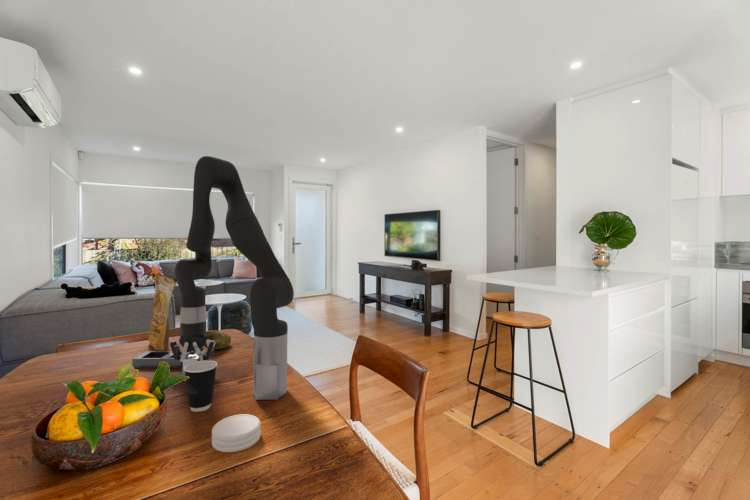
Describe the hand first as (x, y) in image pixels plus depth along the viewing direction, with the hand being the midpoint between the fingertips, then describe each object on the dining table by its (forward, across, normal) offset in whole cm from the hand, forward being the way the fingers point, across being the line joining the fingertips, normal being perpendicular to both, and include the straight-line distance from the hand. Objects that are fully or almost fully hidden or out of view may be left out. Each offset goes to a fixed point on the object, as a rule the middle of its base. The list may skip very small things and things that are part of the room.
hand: (193, 371), depth 113 cm
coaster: (+1, +26, -38) cm, 46 cm away
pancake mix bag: (+1, -26, +30) cm, 40 cm away
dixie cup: (+1, +12, -23) cm, 26 cm away
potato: (+1, -2, +25) cm, 25 cm away
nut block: (+1, 0, 0) cm, 1 cm away
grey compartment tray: (+1, -12, +9) cm, 15 cm away
